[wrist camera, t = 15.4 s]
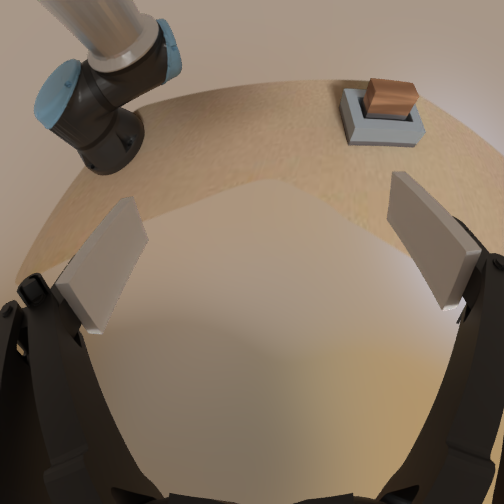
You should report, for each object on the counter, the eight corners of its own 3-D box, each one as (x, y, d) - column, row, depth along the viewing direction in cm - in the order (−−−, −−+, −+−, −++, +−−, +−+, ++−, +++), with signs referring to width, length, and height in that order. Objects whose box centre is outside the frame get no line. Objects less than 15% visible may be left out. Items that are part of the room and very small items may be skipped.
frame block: (413, 147, 45) (425, 132, 39) (348, 145, 46) (355, 127, 40) (401, 110, 46) (410, 94, 40) (339, 107, 48) (343, 88, 42)
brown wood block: (398, 129, 44) (419, 96, 33) (361, 128, 45) (375, 91, 34) (394, 117, 45) (413, 83, 34) (357, 115, 45) (370, 78, 35)
